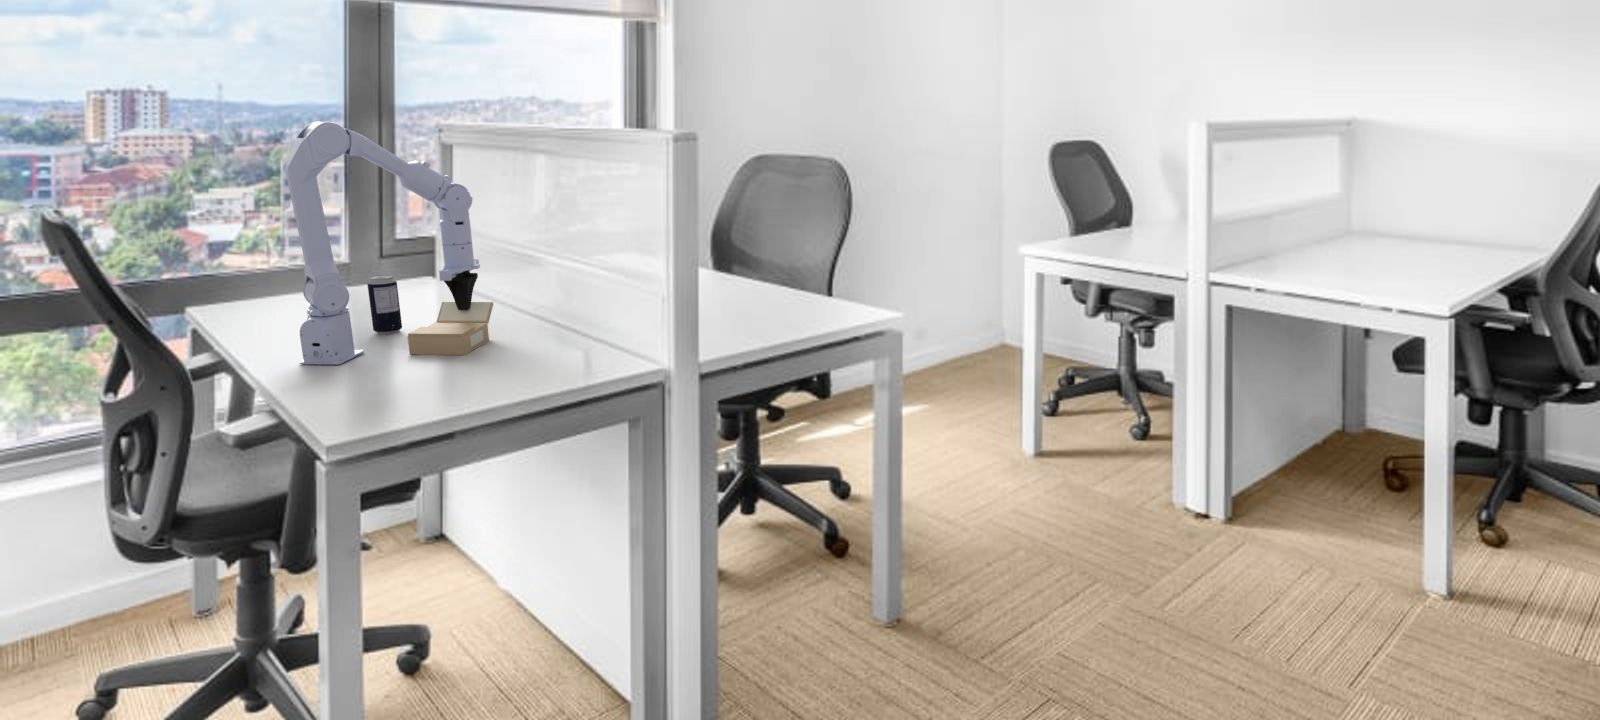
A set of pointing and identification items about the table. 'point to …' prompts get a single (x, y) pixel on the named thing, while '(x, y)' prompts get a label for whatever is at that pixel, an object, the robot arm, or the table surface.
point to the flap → (465, 313)
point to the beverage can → (384, 304)
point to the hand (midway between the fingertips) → (464, 309)
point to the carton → (447, 338)
